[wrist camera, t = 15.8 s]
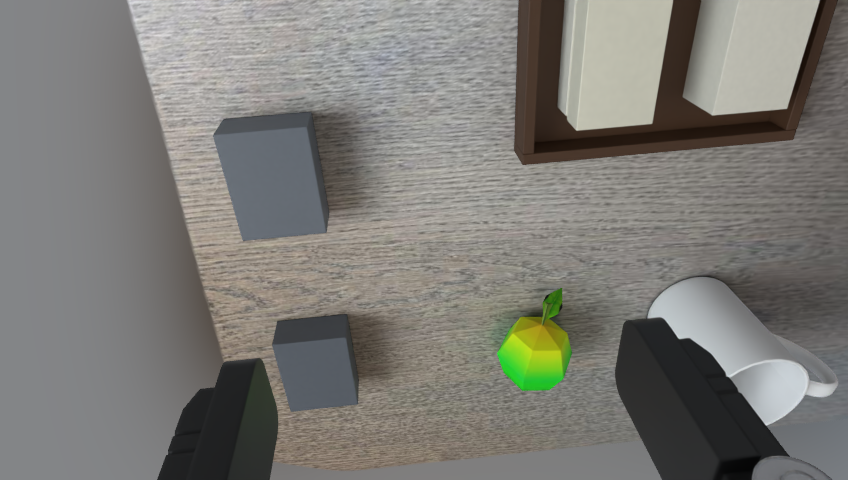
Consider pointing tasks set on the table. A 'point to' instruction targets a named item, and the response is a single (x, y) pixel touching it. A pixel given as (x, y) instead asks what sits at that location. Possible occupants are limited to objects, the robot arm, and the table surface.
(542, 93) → the tray
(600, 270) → the table surface
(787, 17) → the cream rectangular block
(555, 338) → the apple
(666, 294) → the mug
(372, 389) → the table surface
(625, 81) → the cream layered block
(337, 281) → the table surface
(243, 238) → the pair of grey blocks
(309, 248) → the table surface
